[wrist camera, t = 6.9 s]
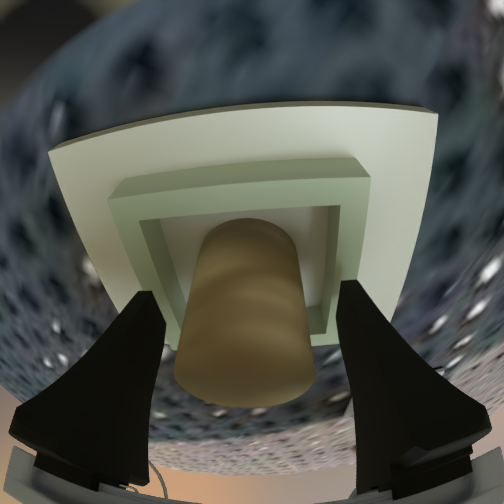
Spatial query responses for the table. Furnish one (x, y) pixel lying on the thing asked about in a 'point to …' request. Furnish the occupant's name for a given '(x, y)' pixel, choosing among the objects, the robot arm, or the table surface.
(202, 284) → the maple peg
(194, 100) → the table surface
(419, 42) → the table surface
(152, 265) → the socket board
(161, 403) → the table surface
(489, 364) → the table surface
